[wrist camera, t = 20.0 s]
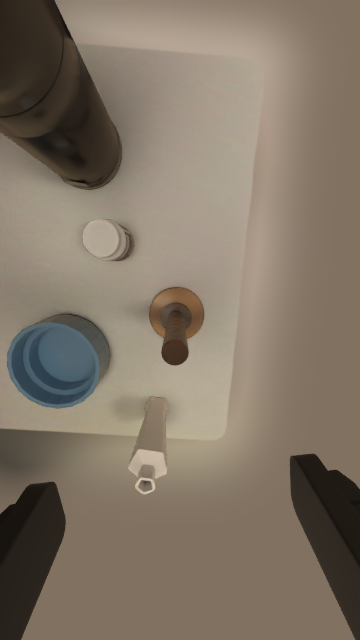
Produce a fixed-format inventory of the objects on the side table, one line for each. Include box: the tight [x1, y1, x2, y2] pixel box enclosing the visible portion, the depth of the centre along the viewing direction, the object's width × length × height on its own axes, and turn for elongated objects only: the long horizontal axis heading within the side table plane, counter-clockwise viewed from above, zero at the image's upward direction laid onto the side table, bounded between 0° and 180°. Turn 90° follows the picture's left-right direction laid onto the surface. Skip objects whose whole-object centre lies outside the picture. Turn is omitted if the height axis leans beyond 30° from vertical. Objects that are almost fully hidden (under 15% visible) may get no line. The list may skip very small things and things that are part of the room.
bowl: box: [7, 314, 110, 408], centre depth 36 cm, size 12×12×6 cm
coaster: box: [150, 287, 204, 339], centre depth 38 cm, size 8×8×1 cm
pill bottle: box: [82, 219, 134, 261], centre depth 32 cm, size 5×5×8 cm
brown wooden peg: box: [161, 302, 191, 365], centre depth 30 cm, size 4×4×15 cm
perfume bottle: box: [128, 397, 168, 494], centre depth 34 cm, size 5×4×15 cm
